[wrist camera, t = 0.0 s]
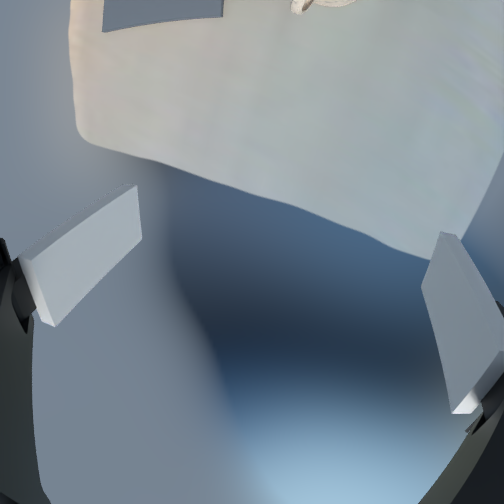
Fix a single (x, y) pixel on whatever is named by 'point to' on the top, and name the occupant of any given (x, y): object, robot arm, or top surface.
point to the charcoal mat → (156, 12)
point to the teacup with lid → (303, 3)
